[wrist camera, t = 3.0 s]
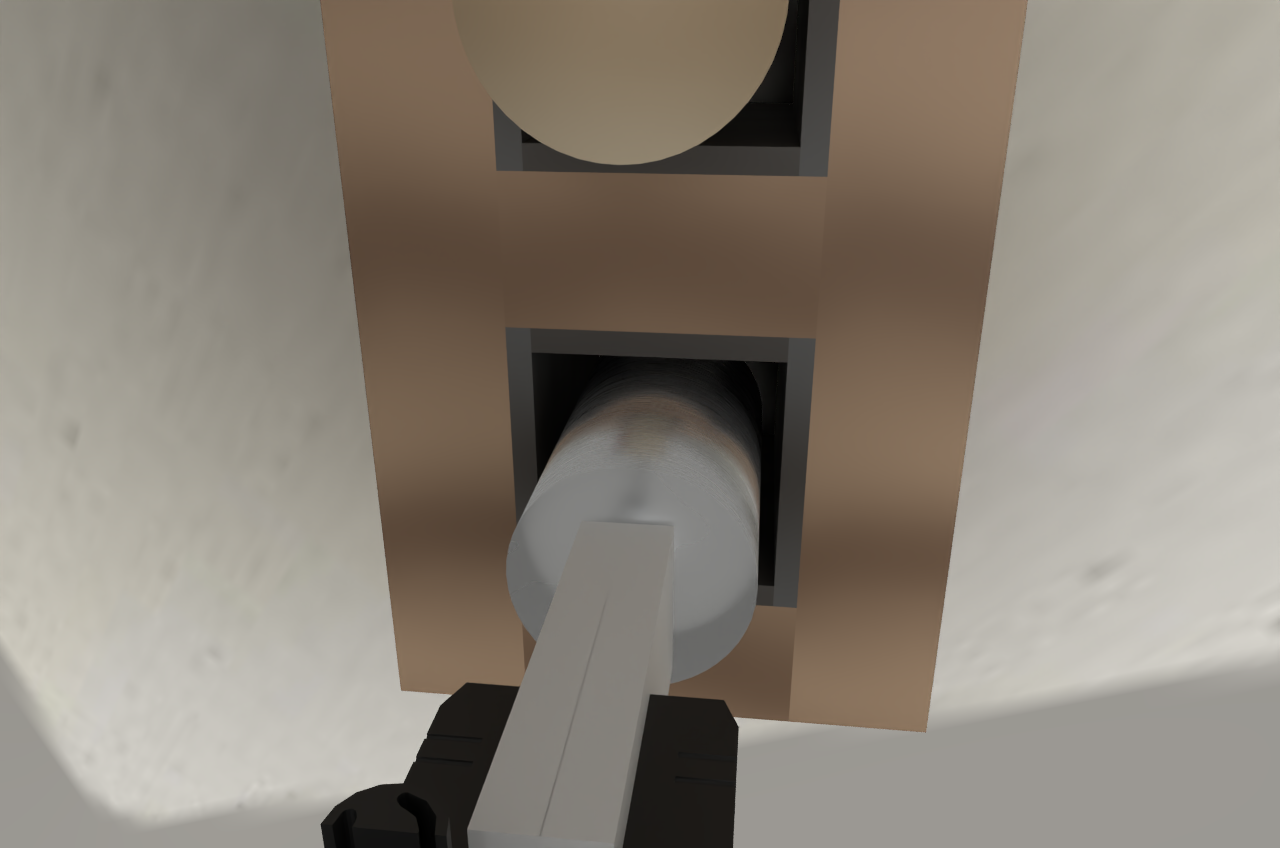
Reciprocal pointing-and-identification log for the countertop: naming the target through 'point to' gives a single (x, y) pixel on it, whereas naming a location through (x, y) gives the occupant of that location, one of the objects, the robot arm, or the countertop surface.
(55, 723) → the countertop surface
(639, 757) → the robot arm
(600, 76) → the beech peg
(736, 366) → the steel peg
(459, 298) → the socket block
